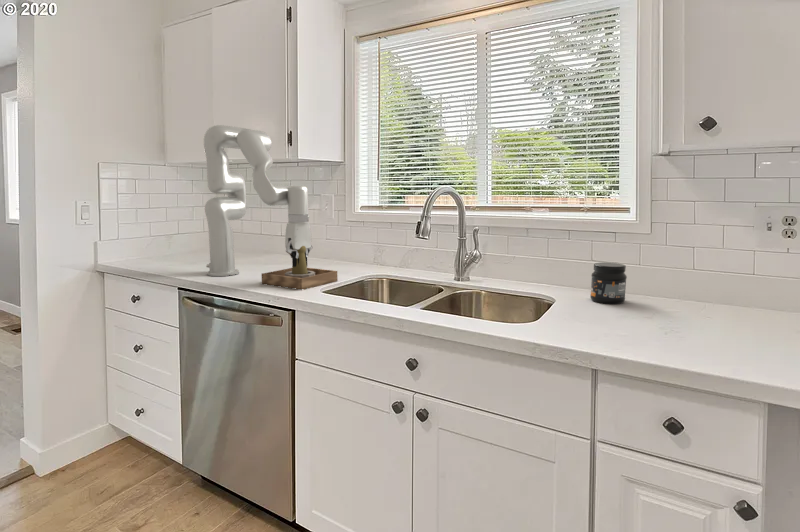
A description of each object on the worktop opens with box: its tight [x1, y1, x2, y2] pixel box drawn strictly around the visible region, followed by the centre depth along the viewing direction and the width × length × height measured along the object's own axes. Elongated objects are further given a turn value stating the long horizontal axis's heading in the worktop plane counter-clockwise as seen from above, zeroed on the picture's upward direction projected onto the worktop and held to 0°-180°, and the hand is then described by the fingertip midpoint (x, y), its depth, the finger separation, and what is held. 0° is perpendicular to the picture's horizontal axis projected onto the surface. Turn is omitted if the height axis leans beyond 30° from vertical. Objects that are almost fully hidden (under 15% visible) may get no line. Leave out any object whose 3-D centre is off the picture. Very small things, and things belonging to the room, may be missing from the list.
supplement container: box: [590, 262, 628, 305], centre depth 167 cm, size 10×10×12 cm
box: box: [261, 267, 338, 290], centre depth 198 cm, size 20×20×4 cm
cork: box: [291, 246, 308, 275], centre depth 196 cm, size 6×6×11 cm
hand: (300, 267), depth 197 cm, fingers closed on cork, 3 cm apart
